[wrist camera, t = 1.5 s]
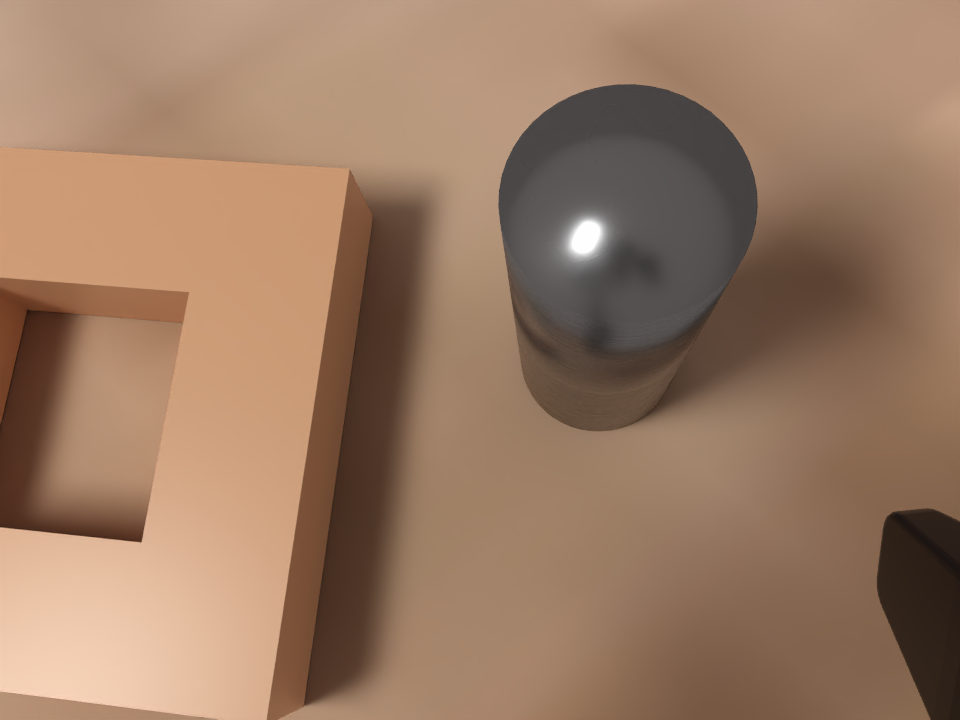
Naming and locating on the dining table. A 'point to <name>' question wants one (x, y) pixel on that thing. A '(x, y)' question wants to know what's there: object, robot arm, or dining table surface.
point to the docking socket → (190, 424)
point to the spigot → (619, 245)
